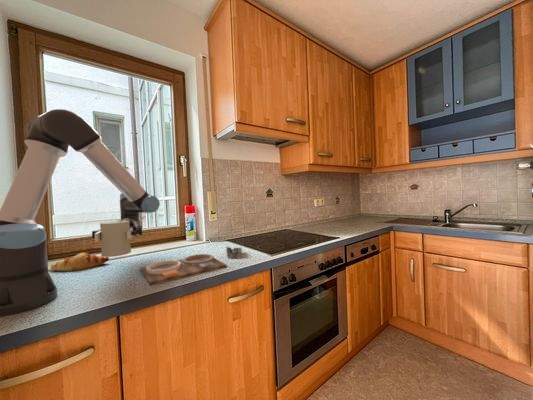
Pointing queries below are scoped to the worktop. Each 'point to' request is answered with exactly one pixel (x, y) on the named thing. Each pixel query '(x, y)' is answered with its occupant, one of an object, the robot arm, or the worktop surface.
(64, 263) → the croissant
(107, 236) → the can
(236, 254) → the egg carton
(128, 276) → the worktop surface
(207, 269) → the walnut board
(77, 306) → the worktop surface
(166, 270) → the ring
